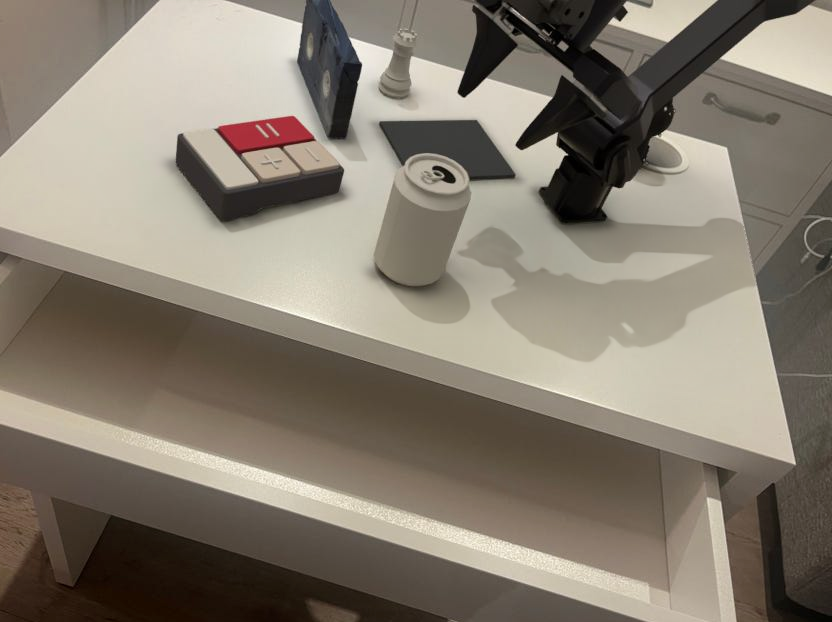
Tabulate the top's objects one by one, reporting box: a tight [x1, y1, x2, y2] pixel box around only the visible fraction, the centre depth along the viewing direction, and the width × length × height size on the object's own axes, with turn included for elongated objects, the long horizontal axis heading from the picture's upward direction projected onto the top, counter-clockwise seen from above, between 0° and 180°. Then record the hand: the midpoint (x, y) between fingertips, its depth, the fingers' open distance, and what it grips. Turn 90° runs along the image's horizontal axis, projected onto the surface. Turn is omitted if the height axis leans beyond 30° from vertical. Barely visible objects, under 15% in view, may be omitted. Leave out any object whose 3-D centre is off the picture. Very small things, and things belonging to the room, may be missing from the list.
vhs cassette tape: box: [296, 0, 363, 139], centre depth 95 cm, size 18×3×10 cm, turn 13°
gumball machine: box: [637, 97, 677, 167], centre depth 99 cm, size 7×6×10 cm
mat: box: [378, 119, 517, 181], centre depth 95 cm, size 14×12×1 cm
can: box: [373, 153, 472, 287], centre depth 75 cm, size 8×8×12 cm
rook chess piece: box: [377, 27, 419, 99], centre depth 100 cm, size 4×4×8 cm
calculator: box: [175, 115, 345, 222], centre depth 83 cm, size 11×4×15 cm
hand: (488, 121), depth 73 cm, fingers open, 9 cm apart
